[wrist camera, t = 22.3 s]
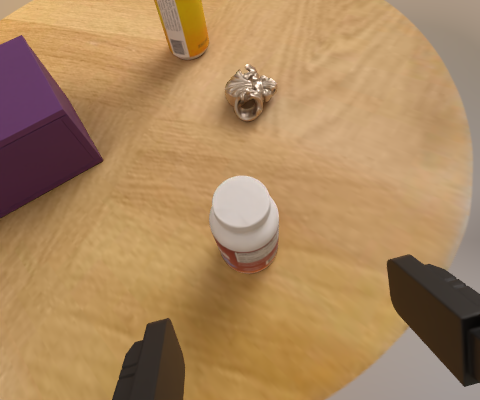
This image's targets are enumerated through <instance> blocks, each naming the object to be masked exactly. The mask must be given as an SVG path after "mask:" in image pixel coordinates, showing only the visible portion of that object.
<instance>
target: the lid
mask: <svg viewBox="0 0 480 400" xmlns="http://www.w3.org/2000/svg"><path fill="white" fill-rule="evenodd" d="M65 114H66V112H65V110H64V108H63V106H62V104H61V103H60V101H59V99H58V97H57V95H56V94H55V92H54V90H53V88H52V87H51V85H50V83H49V81H48V79H47V78H46V76H45V74H44V72H43V70H42V69H41V67H40V65H39V63H38V62H37V60H36V58H35V56H34V54H33V53H32V51H31V49H30V47H29V45H28V44H27V42H26V40H25V39H24V37H23V36H22V35H21V36H19V37H16V38H14V39H12V40H10V41H8V42H5V43H3V44H1V45H0V148H2V147H3V146H5V145H7V144H9V143H11V142H13V141H15V140H17V139H19V138H21V137H23V136H25V135H27V134H29V133H31V132H33V131H34V130H36V129H38V128H40V127H42V126H44V125H46V124H48V123H50V122H52V121H54V120H56V119H58V118H60V117H62V116H63V115H65Z"/></svg>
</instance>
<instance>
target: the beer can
mask: <svg viewBox="0 0 480 400" xmlns="http://www.w3.org/2000/svg"><path fill="white" fill-rule="evenodd" d="M154 1H155V4H156V8H157V11H158V14H159V17H160V20H161V23H162V27H163V30H164V33H165V36H166V39H167V42H168V46H169V49H170V51H171V52H172V53H173V54H174V55H176V56H177V57H179V58H181V59H184V60H191V59H195V58H197V57H199V56H201V55H202V54H203V53H204V52H205V50H206V48H207V47H208V45H209V38H208V33H207V28H206V22H205V17H204V12H203V7H202V1H201V0H154Z"/></svg>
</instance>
